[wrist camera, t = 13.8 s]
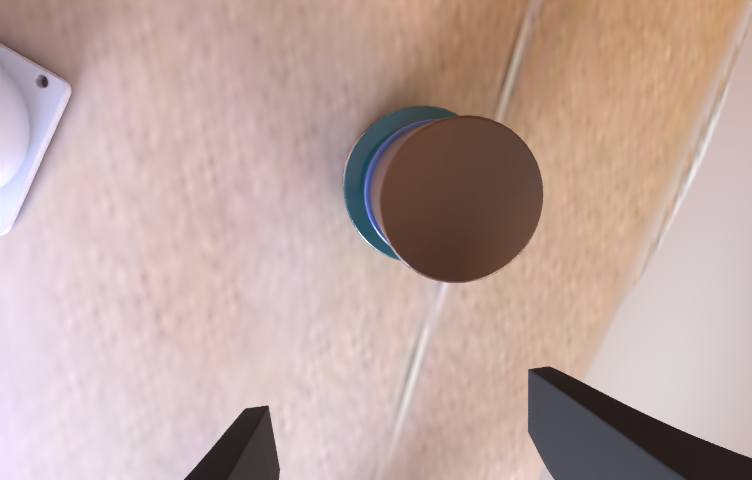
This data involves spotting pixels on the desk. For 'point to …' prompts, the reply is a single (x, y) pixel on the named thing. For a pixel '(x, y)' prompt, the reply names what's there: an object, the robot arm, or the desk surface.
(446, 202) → the brown short cylinder
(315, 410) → the desk surface
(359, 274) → the desk surface
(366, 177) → the ink bottle
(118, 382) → the desk surface
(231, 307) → the desk surface
